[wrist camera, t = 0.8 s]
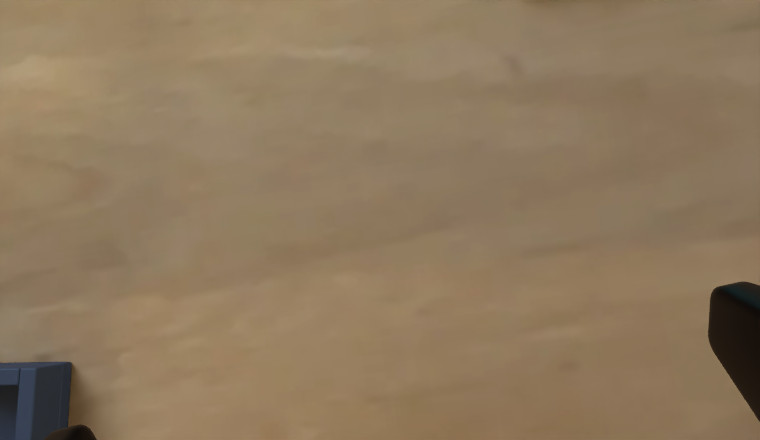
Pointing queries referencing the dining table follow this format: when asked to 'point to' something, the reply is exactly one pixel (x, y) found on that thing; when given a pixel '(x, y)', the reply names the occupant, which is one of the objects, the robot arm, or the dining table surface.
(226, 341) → the dining table surface
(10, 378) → the tray
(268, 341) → the dining table surface
